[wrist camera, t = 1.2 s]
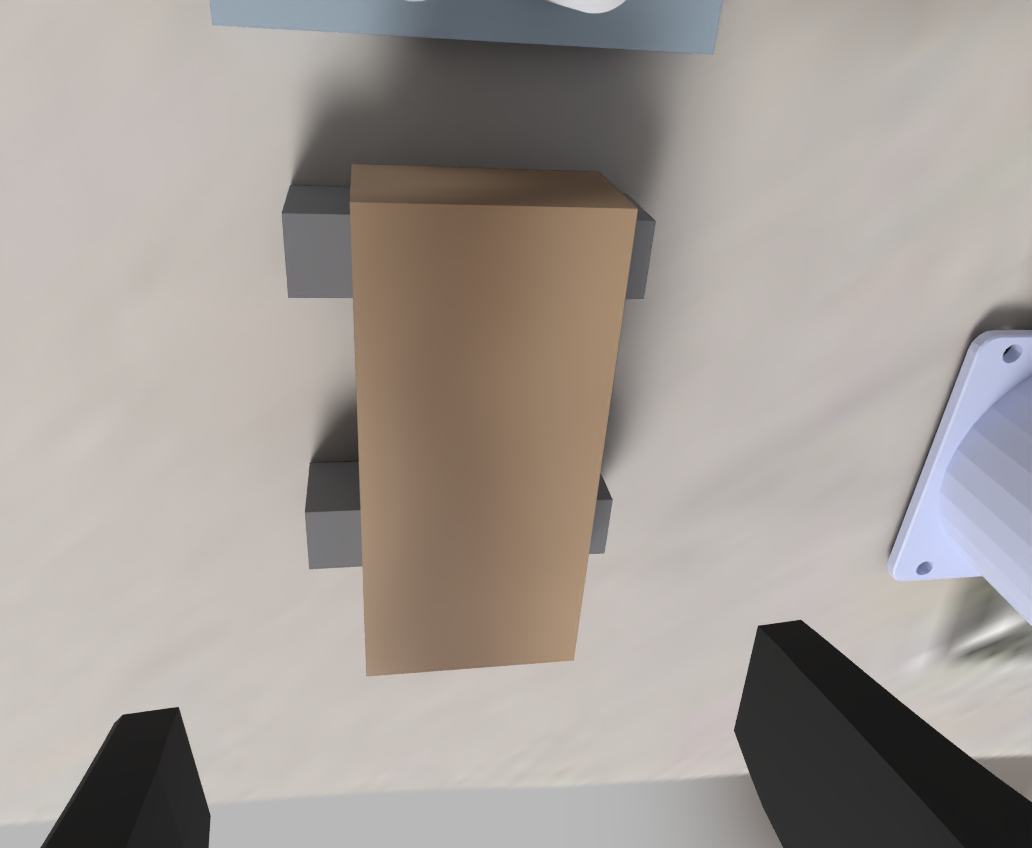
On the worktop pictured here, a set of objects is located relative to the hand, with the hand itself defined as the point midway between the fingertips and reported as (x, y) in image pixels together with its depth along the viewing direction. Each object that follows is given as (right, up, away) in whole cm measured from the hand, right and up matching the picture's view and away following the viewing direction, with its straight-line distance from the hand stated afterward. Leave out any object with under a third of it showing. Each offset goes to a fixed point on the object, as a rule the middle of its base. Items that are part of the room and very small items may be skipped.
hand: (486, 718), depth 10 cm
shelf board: (-1, +4, +7) cm, 8 cm away
